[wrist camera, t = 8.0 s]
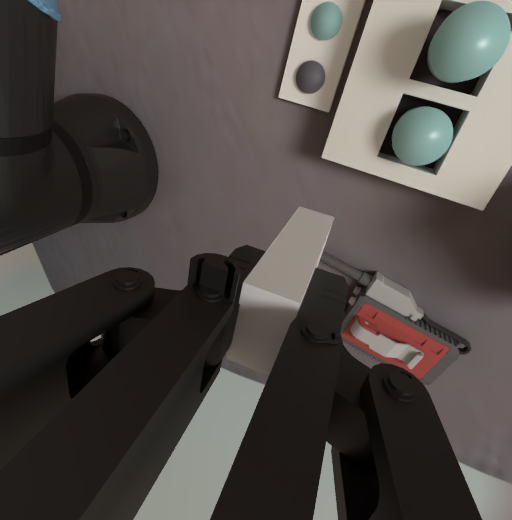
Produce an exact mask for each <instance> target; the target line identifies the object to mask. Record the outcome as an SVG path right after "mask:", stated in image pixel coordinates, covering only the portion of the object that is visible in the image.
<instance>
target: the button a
mask: <svg viewBox="0 0 512 520" xmlns="http://www.w3.org/2000/svg"><path fill="white" fill-rule="evenodd" d="M452 138H453V126H452V122H451V120H450V119H449V117H448V116H447V115H446V114H445V113H444V112H443V111H441V110H439V109H436V108H433V107H429V106H419V107H415V108H412V109H410V110H408V111H406V112H405V113H404V114H403V115H402V116H401V117H400V118H399V119H398V120H397V122H396V124H395V126H394V129H393V134H392V147H393V150H394V152H395V154H396V156H397V157H398V158H399V159H400V160H401V161H403V162H405V163H407V164H410V165H415V166H420V165H426V164H429V163H432V162H434V161H436V160H437V159H439V158H440V157H441V156H442V155H443V154H444V153H445V152H446V151H447V149H448V148H449V146H450V144H451V142H452Z"/></svg>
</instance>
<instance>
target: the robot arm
mask: <svg viewBox="0 0 512 520" xmlns="http://www.w3.org/2000/svg"><path fill="white" fill-rule="evenodd" d="M58 21H59V22H61V14H60V13H59V11H58V0H0V255H3V254H5V253H8V252H10V251H12V250H15V249H17V248H20V247H22V246H24V245H27V244H29V243H32V242H34V241H36V240H39V239H41V238H44V237H46V236H48V235H51V234H53V233H56V232H58V231H60V230H63V229H65V228H68V227H70V226H73V225H75V224H78V223H115V222H121V221H124V220H127V219H129V218H131V217H134V216H136V215H138V214H140V213H141V212H143V211H144V210H145V209H146V208H147V207H148V206H149V204H150V203H151V201H152V199H153V197H154V195H155V192H156V188H157V183H158V164H157V158H156V154H155V150H154V147H153V144H152V142H151V139H150V137H149V135H148V133H147V131H146V129H145V128H144V126H143V125H142V123H141V122H140V120H139V119H138V118H137V117H136V115H135V114H134V113H133V112H132V111H131V110H130V109H129V108H128V107H126V106H125V105H124V104H122V103H121V102H119V101H118V100H116V99H114V98H112V97H109V96H106V95H102V94H75V95H71V96H68V97H65V98H64V99H61V100H59V101H57V102H55V103H53V101H54V82H55V62H56V43H57V24H58ZM333 220H334V217H332V216H329V215H325V214H322V213H319V212H316V211H313V210H309V209H306V208H303V207H300V206H299V208H298V209H297V210H296V212H295V213H294V214H293V216H292V217H291V218H290V220H289V221H288V223H287V224H286V225H285V227H284V228H283V229H282V231H281V232H280V233H279V235H278V236H277V237H276V239H275V240H274V241H273V243H272V244H271V246H270V247H269V248H268V250H267V251H263V250H260V249H257V248H254V247H251V246H248V245H245V246H242V247H239V248H237V249H235V250H234V251H233V252H232V253H231V254H230V255H229V257H226V256H223V255H219V254H213V253H204V254H199V255H196V256H194V257H192V258H191V259H190V267H189V276H188V285H187V286H186V287H185V288H184V289H183V290H169V289H163V288H156V287H154V286H155V282H154V278H153V276H151V275H150V274H149V273H148V272H146V271H144V270H141V269H138V268H131V267H127V268H118V269H114V270H110V271H108V272H105V273H103V274H101V275H98V276H96V277H93V278H91V279H89V280H86V281H84V282H81V283H79V284H76V285H74V286H72V287H69V288H67V289H64V290H62V291H60V292H57V293H55V294H53V295H50V296H48V297H45V298H43V299H40V300H38V301H35V302H33V303H31V304H28V305H26V306H23V307H21V308H19V309H16V310H14V311H12V312H9V313H7V314H4V315H2V316H0V520H133V519H134V517H135V516H136V514H137V512H138V510H139V509H140V507H141V505H142V504H143V502H144V500H145V498H146V497H147V495H148V493H149V491H150V490H151V488H152V486H153V485H154V483H155V481H156V480H157V478H158V476H159V474H160V473H161V471H162V469H163V468H164V466H165V464H166V463H167V461H168V459H169V457H170V456H171V454H172V452H173V451H174V449H175V447H176V445H177V444H178V442H179V440H180V439H181V437H182V435H183V433H184V432H185V430H186V428H187V426H188V425H189V423H190V421H191V420H192V418H193V416H194V415H195V413H196V411H197V409H198V408H199V406H200V404H201V403H202V401H203V399H204V397H205V396H206V394H207V392H208V391H209V389H210V387H211V385H212V384H213V382H214V380H215V379H216V377H217V375H218V373H219V371H220V368H221V364H222V359H223V357H224V355H225V354H226V352H227V350H228V349H229V351H228V355H227V359H228V360H231V361H233V362H236V363H238V364H240V365H243V366H245V367H248V368H250V369H252V370H255V371H257V372H259V373H262V374H264V375H267V376H269V377H268V380H267V382H266V384H265V387H264V389H263V392H262V394H261V397H260V399H259V401H258V404H257V406H256V409H255V411H254V414H253V416H252V419H251V421H250V423H249V426H248V428H247V431H246V433H245V436H244V438H243V440H242V443H241V445H240V448H239V450H238V453H237V455H236V458H235V460H234V463H233V465H232V467H231V470H230V472H229V475H228V478H227V480H226V482H225V484H224V487H223V489H222V492H221V494H220V497H219V499H218V502H217V504H216V506H215V509H214V511H213V514H212V516H211V519H210V520H313V515H314V509H315V503H316V497H317V491H318V485H319V479H320V474H321V468H322V462H323V456H324V450H325V444H326V441H327V442H328V443H329V444H331V445H332V449H331V452H332V463H333V472H334V483H335V493H336V502H337V511H338V520H482V518H481V516H480V514H479V511H478V509H477V506H476V504H475V502H474V499H473V497H472V495H471V492H470V490H469V487H468V485H467V483H466V481H465V478H464V475H463V473H462V471H461V468H460V466H459V464H458V461H457V459H456V456H455V454H454V452H453V449H452V447H451V444H450V442H449V440H448V437H447V435H446V433H445V430H444V428H443V425H442V423H441V421H440V418H439V416H438V414H437V411H436V409H435V406H434V404H433V402H432V399H431V397H430V395H429V393H428V391H427V390H426V388H425V386H424V385H423V383H422V382H421V381H420V380H418V379H417V378H416V377H415V376H414V375H413V374H412V373H410V372H408V371H407V370H405V369H404V368H401V367H399V366H396V365H393V364H385V363H381V364H378V365H375V366H373V367H372V369H370V368H369V367H367V366H366V365H364V364H363V363H361V362H360V361H358V360H357V359H356V358H354V357H353V356H352V355H351V354H350V353H349V352H348V351H347V350H346V348H345V347H344V345H343V343H342V336H341V335H340V333H341V327H342V322H343V316H344V311H345V304H346V300H347V294H348V289H349V286H348V284H347V282H346V280H345V278H344V277H342V276H339V275H336V274H333V273H330V272H327V271H324V270H322V269H319V268H317V267H318V264H319V261H320V258H321V255H322V252H323V249H324V246H325V244H326V241H327V238H328V235H329V232H330V229H331V226H332V223H333ZM99 335H101V338H100V339H98V340H96V341H93V342H90V340H92V339H93V338H95V337H97V336H99Z"/></svg>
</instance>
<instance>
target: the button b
mask: <svg viewBox="0 0 512 520" xmlns="http://www.w3.org/2000/svg"><path fill="white" fill-rule="evenodd" d="M510 33H511V26H510V21H509V18H508V15H507V14H506V12H505V11H504V10H503V9H502V8H501V7H500V6H499V5H497V4H495V3H493V2H489V1H475V2H471V3H468V4H465V5H463V6H461V7H459V8H458V9H456V10H455V11H453V12H452V13H451V14H450V15H449V16H448V17H447V18H446V19H445V20H444V21H443V23H442V24H441V25H440V27H439V29H438V30H437V32H436V33H435V35H434V37H433V39H432V40H431V43H430V45H429V48H428V52H427V63H428V67H429V70H430V72H431V73H432V74H433V76H434V77H436V78H437V79H438V80H440V81H443V82H447V83H457V82H462V81H466V80H470V79H473V78H476V77H478V76H480V75H482V74H484V73H485V72H487V71H488V70H490V69H491V68H492V67H493V66H494V65H495V64H496V63H497V62H498V61H499V59H500V58H501V57H502V55H503V54H504V52H505V50H506V48H507V46H508V43H509V39H510Z"/></svg>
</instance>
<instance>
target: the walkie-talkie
mask: <svg viewBox="0 0 512 520" xmlns="http://www.w3.org/2000/svg"><path fill="white" fill-rule="evenodd" d="M320 261H322V262H324V263H326V264H328V265H330V266H331V267H333V268H335V269H337V270H339V271H341V272H342V273H344V274H346V275H348V276H350V277H352V278H353V279H355V280H357V281H358V282H359V283H360V284H362V285H364V286H362V287H360V288H359V287H357V286H356V287H355V288H354V290H353V293H354V294H356V295H355V297H353V296H351V298H350V299H349V301H348V303H350V304H349V306H348V307H347V308H346V310H345V311H344V316H343V322H342V327H341V333H340V335H341V336H342V340H343V341H345V342H346V343H348V344H350V345H352V346H353V347H355V348H357V349H359V350H360V351H362V352H364V353H366V354H368V355H369V356H372V357H374V358H375V359H377V360H378V361H381V362H382V363H385V364H393V365H396V366H399V367H401V368H404V369H405V370H407V371H408V372H410V373H412V374H413V375H414V376H415V377H416V378H417V379H418V380H420V381H421V382H422V383H423V384H427V385H429V384H431V383H432V382H433V381H434V380H435V379H436V378H438V377H439V376H440V375H441V374H442V373H443V372H444V371H445V370H446V369H447V368H448V367H449V366H450V365H451V364H452V363H454V362H455V361H456V360H457V358H458V357H459V355H460V354H467V353H469V352H470V351H471V346H470V343H469V342H468V341H467V340H466V339H464V338H462V337H460V336H459V335H457V334H455V333H453V332H451V331H449V330H448V329H446V328H444V327H442V326H440V325H438V324H436V323H435V322H433V321H431V320H430V319H428V317H427V316H426V315H425V314H424V312H423V309H421V308H419V307H417V305H416V303H415V301H414V299H413V296H412V294H411V292H410V290H408V289H406V288H404V287H402V286H401V285H399V284H397V283H395V282H393V281H391V280H389V279H387V278H386V277H384V275H383V274H381V273H379V272H376V274H375V275H374V276H371V275H369V274H367V273H366V272H361V271H359V270H357V269H355V268H353V267H352V266H350V265H348V264H346V263H344V262H342V261H340V260H339V259H337V258H335V257H333V256H331V255H328V254H327V253H325V252H322V255H321V258H320ZM456 340H457V341H459V342H460V343H462V344H464V345H465V346H466V347H464V348H458V346H457V342H456Z"/></svg>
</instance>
